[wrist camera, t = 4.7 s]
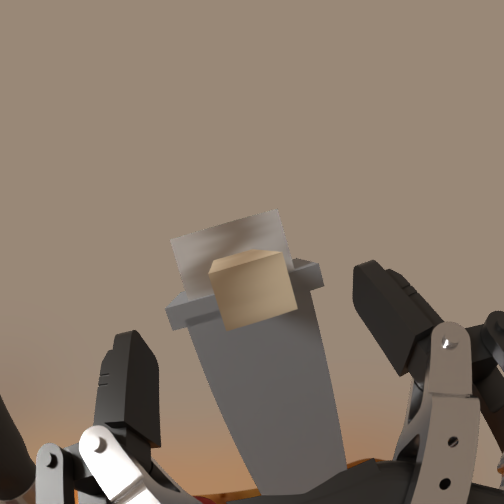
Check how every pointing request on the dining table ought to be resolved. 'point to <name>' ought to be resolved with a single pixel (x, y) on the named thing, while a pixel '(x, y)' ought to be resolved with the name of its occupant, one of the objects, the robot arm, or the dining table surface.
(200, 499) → the onion
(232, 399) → the stand
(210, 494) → the dining table surface
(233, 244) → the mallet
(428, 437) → the robot arm
